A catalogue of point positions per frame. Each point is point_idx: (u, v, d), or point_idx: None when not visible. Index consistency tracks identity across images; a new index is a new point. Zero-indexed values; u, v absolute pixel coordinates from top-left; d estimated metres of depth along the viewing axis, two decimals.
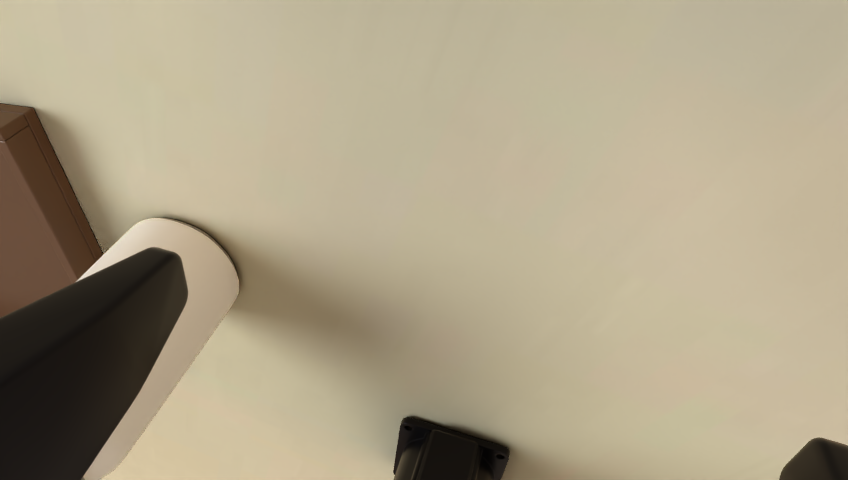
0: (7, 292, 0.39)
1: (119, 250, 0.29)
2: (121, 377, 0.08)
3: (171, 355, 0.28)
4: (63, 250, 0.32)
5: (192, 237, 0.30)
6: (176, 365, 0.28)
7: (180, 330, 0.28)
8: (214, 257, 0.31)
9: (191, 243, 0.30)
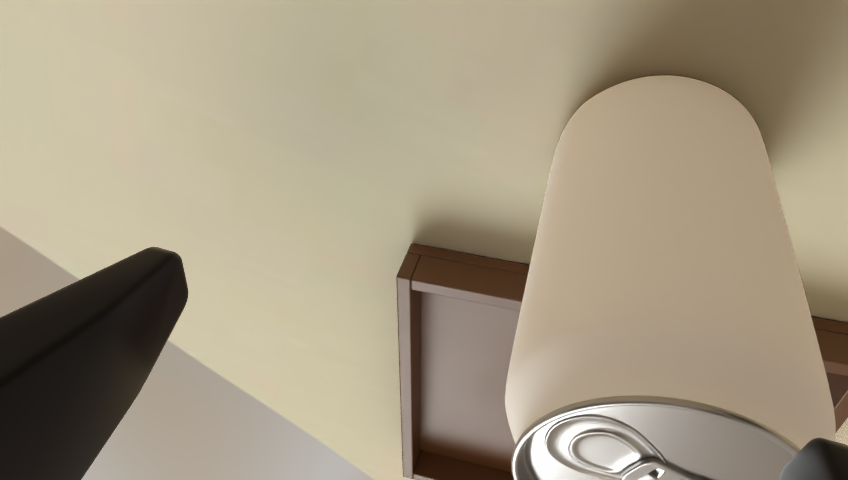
0: None
1: None
2: (121, 377, 0.08)
3: (666, 182, 0.14)
4: None
5: (575, 117, 0.19)
6: (697, 186, 0.14)
7: (644, 158, 0.15)
8: (613, 94, 0.19)
9: (577, 119, 0.19)
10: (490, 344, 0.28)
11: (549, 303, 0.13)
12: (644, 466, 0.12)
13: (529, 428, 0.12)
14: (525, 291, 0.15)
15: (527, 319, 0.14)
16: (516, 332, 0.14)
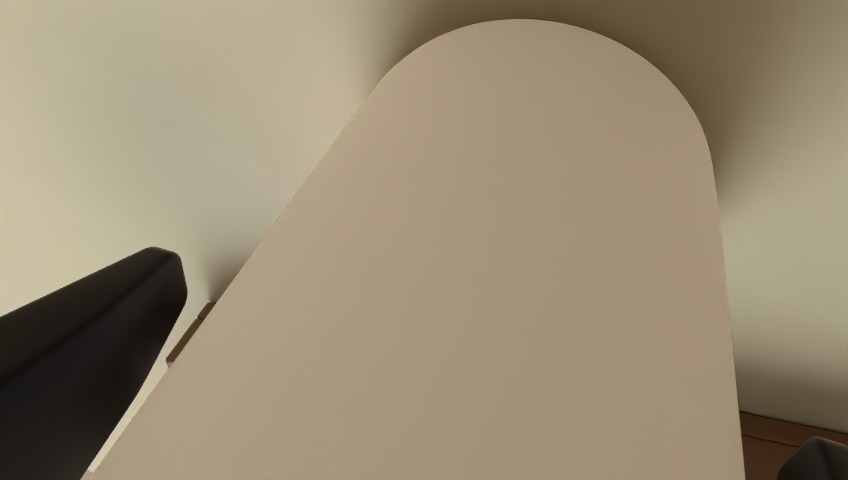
0: None
1: None
2: (120, 377, 0.08)
3: (375, 271, 0.05)
4: None
5: None
6: (450, 283, 0.05)
7: (371, 197, 0.06)
8: (412, 58, 0.10)
9: None
10: None
11: None
12: None
13: None
14: None
15: None
16: None
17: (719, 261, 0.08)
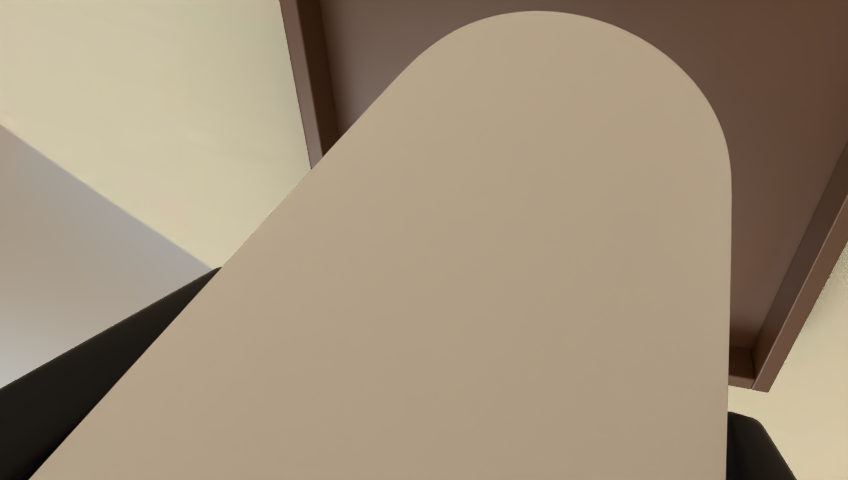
0: None
1: None
2: None
3: (371, 228, 0.06)
4: None
5: None
6: (438, 242, 0.05)
7: (378, 166, 0.07)
8: (437, 46, 0.10)
9: None
10: None
11: None
12: None
13: None
14: None
15: None
16: None
17: (722, 252, 0.08)
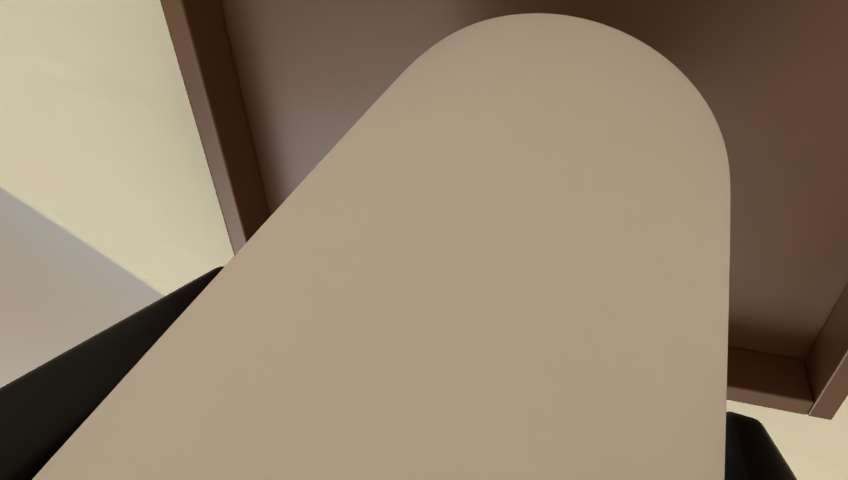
0: (756, 160, 0.14)
1: None
2: None
3: (370, 231, 0.06)
4: None
5: None
6: (438, 245, 0.06)
7: (377, 168, 0.07)
8: (435, 48, 0.10)
9: None
10: None
11: None
12: None
13: None
14: None
15: None
16: None
17: (720, 254, 0.08)
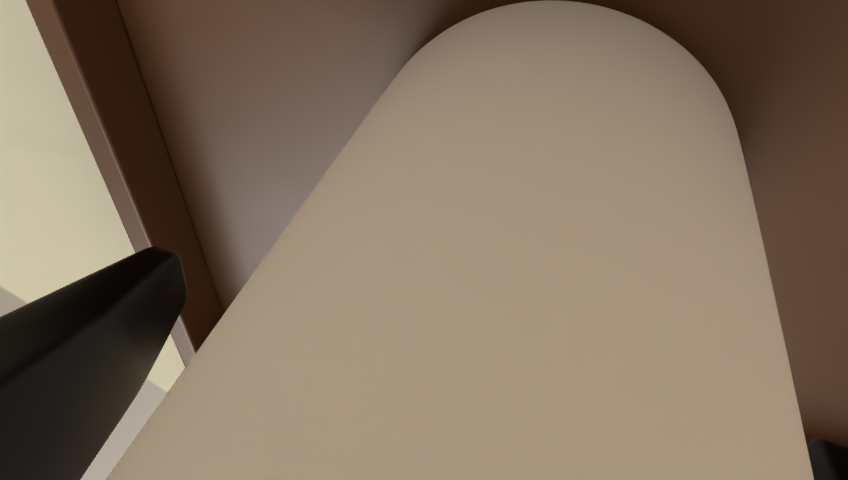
0: (785, 247, 0.12)
1: None
2: (120, 377, 0.08)
3: (434, 222, 0.05)
4: None
5: None
6: (512, 232, 0.05)
7: (418, 159, 0.06)
8: (440, 40, 0.10)
9: None
10: None
11: None
12: None
13: None
14: None
15: None
16: None
17: (760, 234, 0.08)
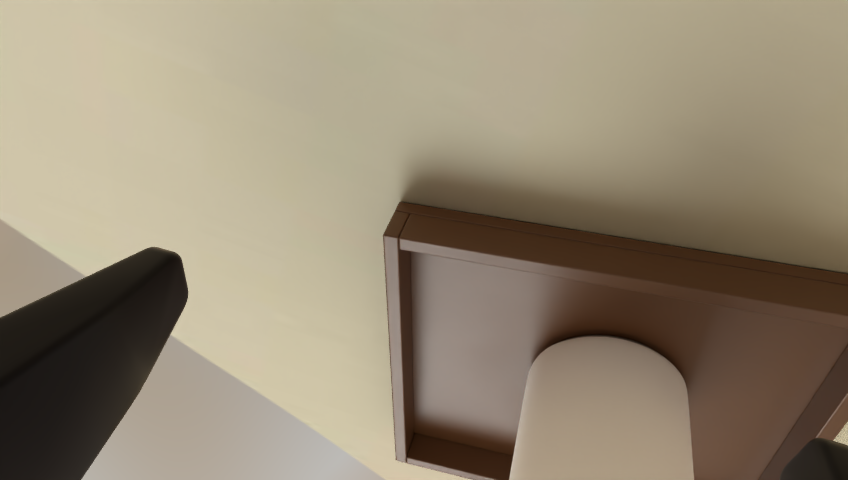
0: (708, 420, 0.26)
1: None
2: (121, 377, 0.08)
3: (598, 468, 0.20)
4: (581, 268, 0.21)
5: (542, 359, 0.25)
6: (620, 473, 0.20)
7: (586, 438, 0.21)
8: (569, 350, 0.24)
9: (543, 365, 0.25)
10: (486, 312, 0.26)
11: None
12: None
13: None
14: None
15: None
16: None
17: (689, 445, 0.22)
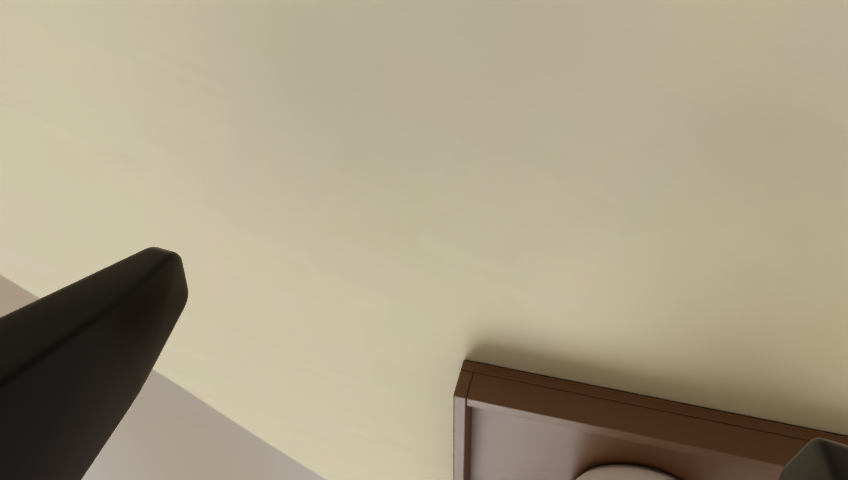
0: None
1: None
2: (121, 377, 0.08)
3: None
4: (615, 429, 0.26)
5: None
6: None
7: None
8: (605, 479, 0.30)
9: None
10: (534, 442, 0.31)
11: None
12: None
13: None
14: None
15: None
16: None
17: None
